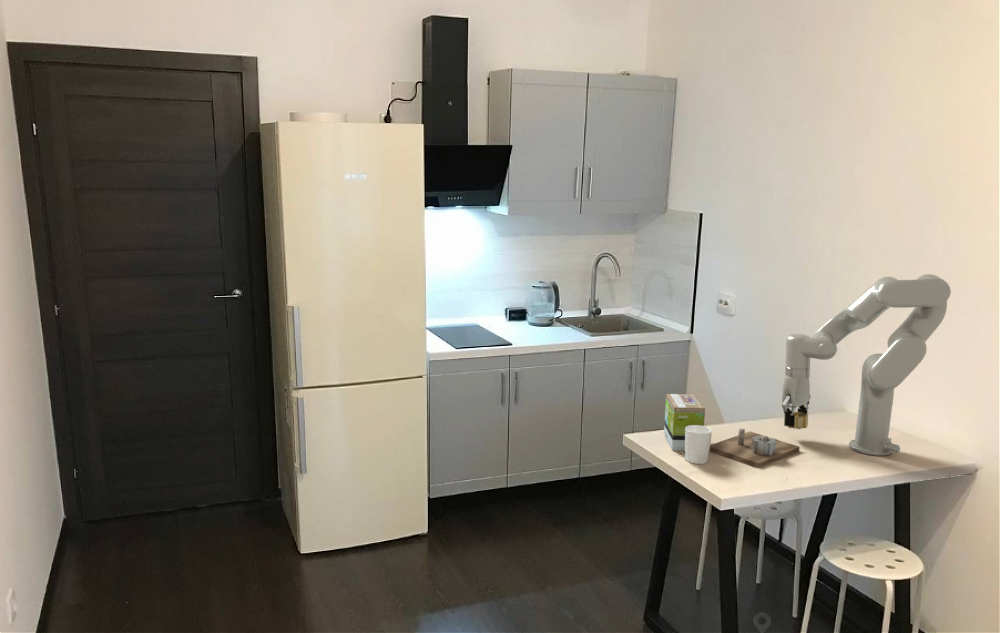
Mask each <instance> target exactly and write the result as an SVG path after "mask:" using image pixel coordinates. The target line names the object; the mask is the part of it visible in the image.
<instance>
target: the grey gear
mask: <svg viewBox="0 0 1000 633" xmlns="http://www.w3.org/2000/svg"><path fill="white" fill-rule="evenodd" d="M766 436H767V441H761V436H758V435H757V436H756V437H752V440H751V450H752V452H753V453H757V454H760V455H762V456H763V455H768V456H772V455H773V454H776V445H777V441H775V439H776V438H774V437H769V436H768V435H766Z"/></svg>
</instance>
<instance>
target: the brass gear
mask: <svg viewBox="0 0 1000 633" xmlns="http://www.w3.org/2000/svg"><path fill="white" fill-rule="evenodd" d="M783 414H784V413H783ZM793 415H795V421H794V427H790V426H785V414H784V416H783V417H784V418H783V426H784V427H787V428H788V429H794V430H801V429H807V428H808V425H809V424H808V423H809V414H808V413H807V414H805V413H803V412H798V411H794V414H793Z"/></svg>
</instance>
